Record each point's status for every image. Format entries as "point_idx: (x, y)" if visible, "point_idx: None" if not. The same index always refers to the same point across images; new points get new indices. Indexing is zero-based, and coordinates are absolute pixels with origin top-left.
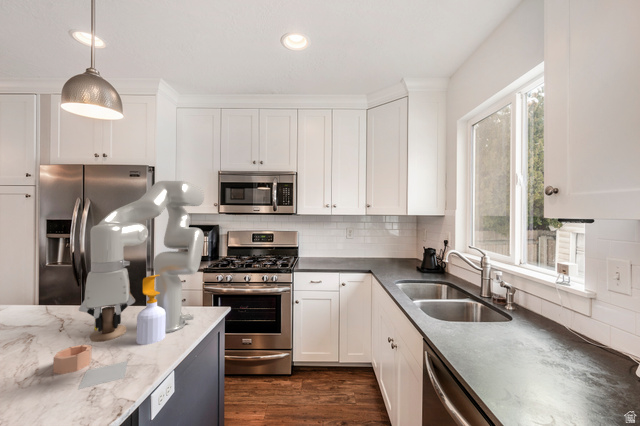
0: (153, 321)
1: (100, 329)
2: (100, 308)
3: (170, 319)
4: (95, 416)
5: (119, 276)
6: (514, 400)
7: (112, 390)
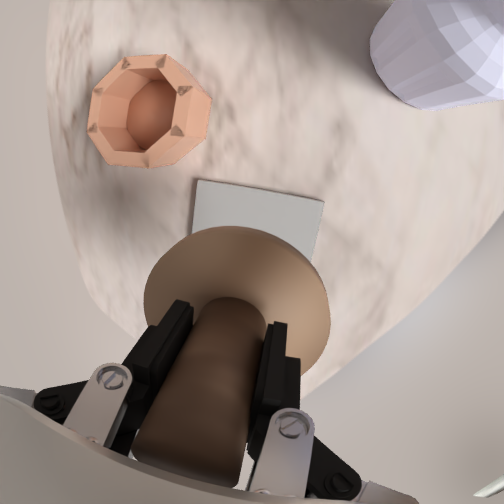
0: (476, 98)
1: None
2: (112, 430)
3: None
4: None
5: None
6: (492, 485)
7: None
